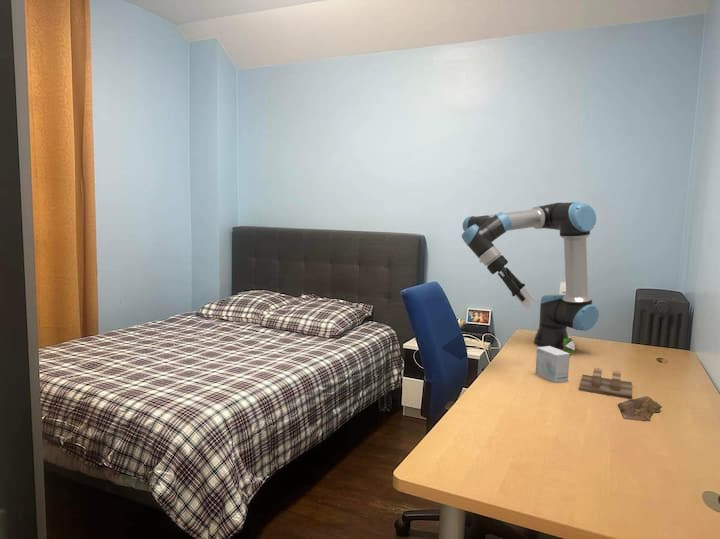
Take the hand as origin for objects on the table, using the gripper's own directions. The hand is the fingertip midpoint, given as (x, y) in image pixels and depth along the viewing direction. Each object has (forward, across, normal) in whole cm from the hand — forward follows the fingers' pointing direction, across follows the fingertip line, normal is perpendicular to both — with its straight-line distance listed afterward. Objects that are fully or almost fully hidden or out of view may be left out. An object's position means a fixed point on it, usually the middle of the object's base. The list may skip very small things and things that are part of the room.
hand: (531, 304), depth 188 cm
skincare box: (+25, +2, -12) cm, 28 cm away
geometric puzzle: (+28, -36, -7) cm, 47 cm away
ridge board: (+37, +5, +2) cm, 37 cm away
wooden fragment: (+43, +21, +7) cm, 49 cm away
